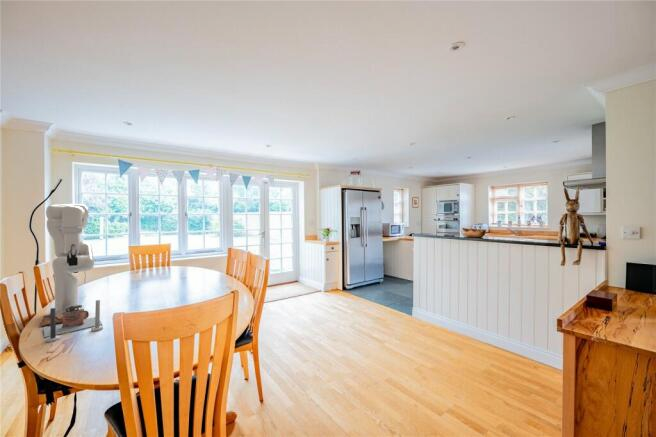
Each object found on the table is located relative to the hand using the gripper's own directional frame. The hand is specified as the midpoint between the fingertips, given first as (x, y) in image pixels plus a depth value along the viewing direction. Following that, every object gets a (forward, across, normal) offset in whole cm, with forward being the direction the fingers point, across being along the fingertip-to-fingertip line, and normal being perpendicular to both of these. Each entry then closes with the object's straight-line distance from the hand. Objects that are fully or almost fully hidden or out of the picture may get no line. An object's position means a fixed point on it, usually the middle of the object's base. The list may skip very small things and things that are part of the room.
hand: (72, 264), depth 137 cm
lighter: (+30, +6, 0) cm, 30 cm away
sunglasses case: (+31, -7, -2) cm, 32 cm away
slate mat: (+30, +6, 0) cm, 31 cm away
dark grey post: (+30, +18, -8) cm, 36 cm away
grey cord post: (+30, +18, +8) cm, 36 cm away
